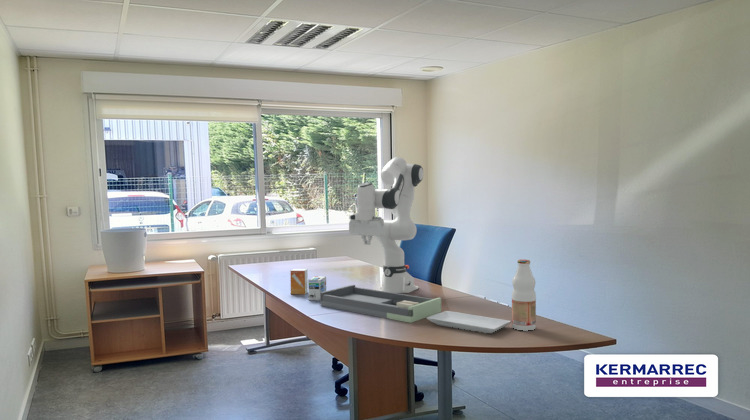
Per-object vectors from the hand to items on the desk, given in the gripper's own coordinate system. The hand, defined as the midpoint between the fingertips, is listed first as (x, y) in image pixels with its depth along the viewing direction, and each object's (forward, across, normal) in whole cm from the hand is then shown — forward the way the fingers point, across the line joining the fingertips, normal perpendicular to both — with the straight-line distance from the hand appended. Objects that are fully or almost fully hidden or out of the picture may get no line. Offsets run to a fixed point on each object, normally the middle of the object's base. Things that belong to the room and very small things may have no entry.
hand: (367, 244), depth 273 cm
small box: (+30, +46, +2) cm, 55 cm away
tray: (+30, -60, +8) cm, 67 cm away
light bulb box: (+30, +29, +6) cm, 42 cm away
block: (+26, -31, +11) cm, 42 cm away
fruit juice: (+29, -80, -2) cm, 85 cm away
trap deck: (+29, -11, +5) cm, 31 cm away
